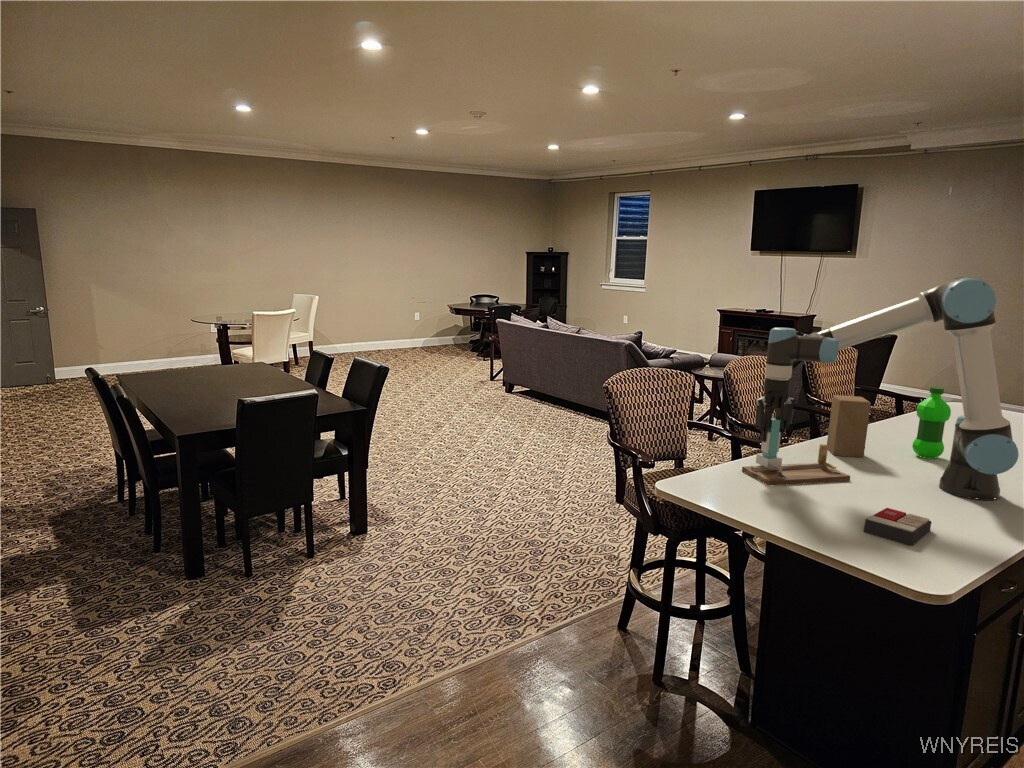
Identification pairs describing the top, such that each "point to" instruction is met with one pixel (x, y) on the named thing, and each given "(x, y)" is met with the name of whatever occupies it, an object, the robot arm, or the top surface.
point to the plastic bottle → (931, 424)
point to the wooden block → (848, 425)
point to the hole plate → (799, 472)
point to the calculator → (897, 526)
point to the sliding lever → (771, 448)
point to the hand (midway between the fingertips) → (769, 451)
